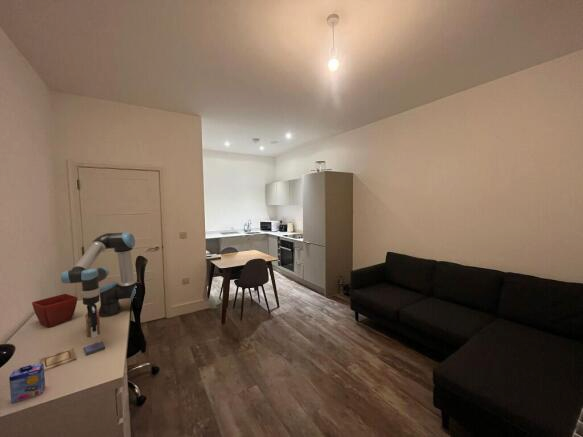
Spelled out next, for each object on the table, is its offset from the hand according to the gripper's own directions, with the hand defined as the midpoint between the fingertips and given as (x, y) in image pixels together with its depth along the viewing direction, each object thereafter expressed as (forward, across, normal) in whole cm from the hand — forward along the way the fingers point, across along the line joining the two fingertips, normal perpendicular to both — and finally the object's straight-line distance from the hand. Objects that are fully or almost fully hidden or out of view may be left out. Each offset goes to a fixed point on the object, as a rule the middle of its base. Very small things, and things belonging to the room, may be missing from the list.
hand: (93, 334), depth 144 cm
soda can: (+9, -28, +4) cm, 30 cm away
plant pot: (+9, -63, -12) cm, 65 cm away
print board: (+9, -2, -15) cm, 18 cm away
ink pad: (+9, 0, 0) cm, 9 cm away
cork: (0, 0, 0) cm, 0 cm away
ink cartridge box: (+10, +22, -26) cm, 36 cm away
